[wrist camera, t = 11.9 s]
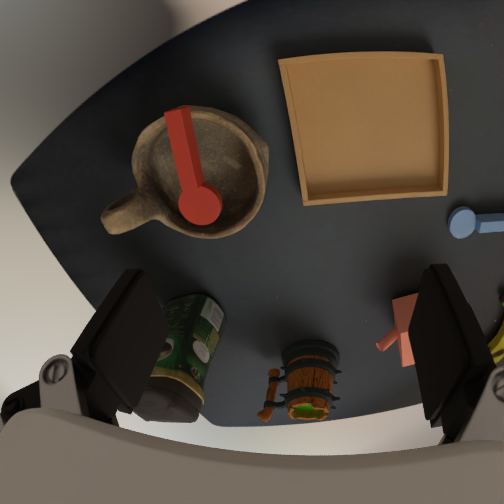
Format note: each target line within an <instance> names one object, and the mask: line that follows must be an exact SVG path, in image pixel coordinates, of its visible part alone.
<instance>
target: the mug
mask: <svg viewBox="0 0 504 504" xmlns="http://www.w3.org/2000/svg"><path fill="white" fill-rule="evenodd" d="M282 362H283V366H284V367H281V369H283V370H285V375H284V376H282V377H280V378H279V376H280V371H279V370H278V369H271V370H269V372H268V375H269V377H270V378H269V387H268V390H267V394H266V401H265V402H264V409H263V410H262V411H260V412H259V413H258V414H257V416H258V417H259V418H260V419H261V420H262V421H264V422H266V421H268V420H269V419H270V417H271V415H272V412H273V410H274V409H275V408H284V407H287V408H288V415H289V417H290V418H291V419H303V420H314V419H317V420H319V421H320V420H325V418H326V417H327V416H328V411H329V408H332V409H336V407H334V406H333V405H332V403H333V401H335V400H339V399H340V398H339V397H334V396H333V395H332V394H331V389H332V383H334V384H337V383H338V382H336V381H335V374H337V373H341V372H342V371H340V370H337V366H338V365H339V352H338V351H337V349H336V348H335V347H334V346H332V345H330V344H329V343H327V342H322V341H318V340H304V341H300V342H297V343H294V344H292V345H291V346H289V347H288V348H286V350H285V351H284V353H283V356H282ZM281 382H287V390H288V393H287V394H280V396H282V397H285V401H282V402H274V399H275V394H276V390H277V385H279V383H281Z"/></svg>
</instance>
